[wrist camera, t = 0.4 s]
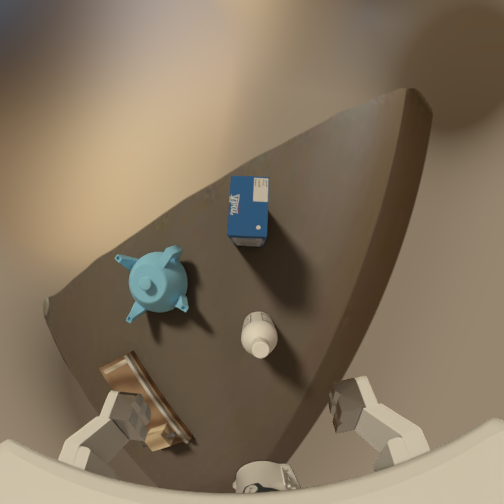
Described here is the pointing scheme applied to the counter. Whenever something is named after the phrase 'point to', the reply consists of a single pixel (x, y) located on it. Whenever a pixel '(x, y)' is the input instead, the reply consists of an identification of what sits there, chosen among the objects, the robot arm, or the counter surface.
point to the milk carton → (248, 210)
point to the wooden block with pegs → (159, 437)
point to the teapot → (156, 282)
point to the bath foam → (259, 334)
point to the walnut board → (144, 393)
